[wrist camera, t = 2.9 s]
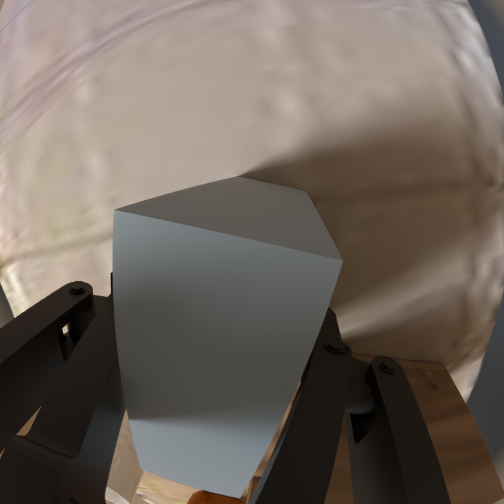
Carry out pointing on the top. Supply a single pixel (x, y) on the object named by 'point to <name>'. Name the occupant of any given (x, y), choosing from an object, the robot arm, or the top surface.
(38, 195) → the top surface
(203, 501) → the mug
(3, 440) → the robot arm
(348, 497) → the wooden frame
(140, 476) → the white cup
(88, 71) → the top surface
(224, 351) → the gray rectangular block
